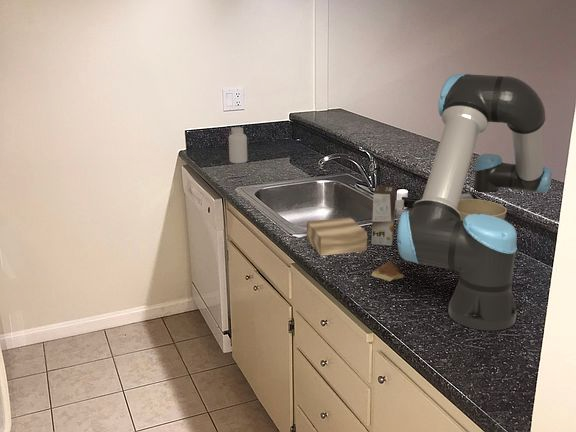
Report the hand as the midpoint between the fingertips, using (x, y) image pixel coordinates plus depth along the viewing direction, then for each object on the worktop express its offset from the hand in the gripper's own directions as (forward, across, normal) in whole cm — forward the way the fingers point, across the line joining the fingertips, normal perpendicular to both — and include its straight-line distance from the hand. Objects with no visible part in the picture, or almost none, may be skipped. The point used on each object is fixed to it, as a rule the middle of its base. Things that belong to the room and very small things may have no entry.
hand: (392, 212), depth 199 cm
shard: (+12, -24, -9) cm, 28 cm away
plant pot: (-15, -22, -9) cm, 28 cm away
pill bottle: (+28, +106, -8) cm, 110 cm away
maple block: (+18, -1, -9) cm, 20 cm away
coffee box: (+3, 0, -9) cm, 9 cm away
